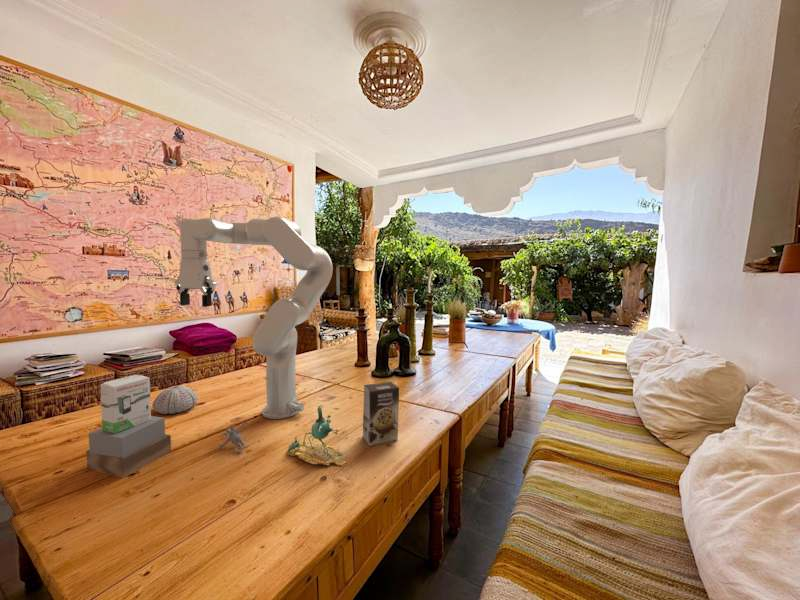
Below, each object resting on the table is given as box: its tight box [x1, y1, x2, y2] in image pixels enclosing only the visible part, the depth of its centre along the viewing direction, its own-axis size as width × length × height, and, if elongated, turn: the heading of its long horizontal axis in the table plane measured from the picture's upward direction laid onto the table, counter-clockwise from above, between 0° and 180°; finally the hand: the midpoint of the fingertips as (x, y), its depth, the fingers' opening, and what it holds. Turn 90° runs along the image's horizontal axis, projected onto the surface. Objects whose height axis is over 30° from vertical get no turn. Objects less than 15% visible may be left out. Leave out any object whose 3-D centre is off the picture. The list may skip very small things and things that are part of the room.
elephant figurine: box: [218, 421, 248, 454], centre depth 92 cm, size 9×5×8 cm
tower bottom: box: [85, 433, 172, 479], centre depth 85 cm, size 12×12×5 cm
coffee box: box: [362, 381, 400, 447], centre depth 98 cm, size 9×6×16 cm
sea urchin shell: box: [151, 385, 199, 415], centre depth 116 cm, size 13×14×8 cm
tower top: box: [88, 415, 166, 458], centre depth 84 cm, size 10×11×5 cm
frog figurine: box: [285, 406, 347, 467], centre depth 88 cm, size 10×18×15 cm, turn 66°
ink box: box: [100, 374, 152, 434], centre depth 83 cm, size 9×5×12 cm, turn 159°
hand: (195, 305), depth 115 cm, fingers open, 9 cm apart
